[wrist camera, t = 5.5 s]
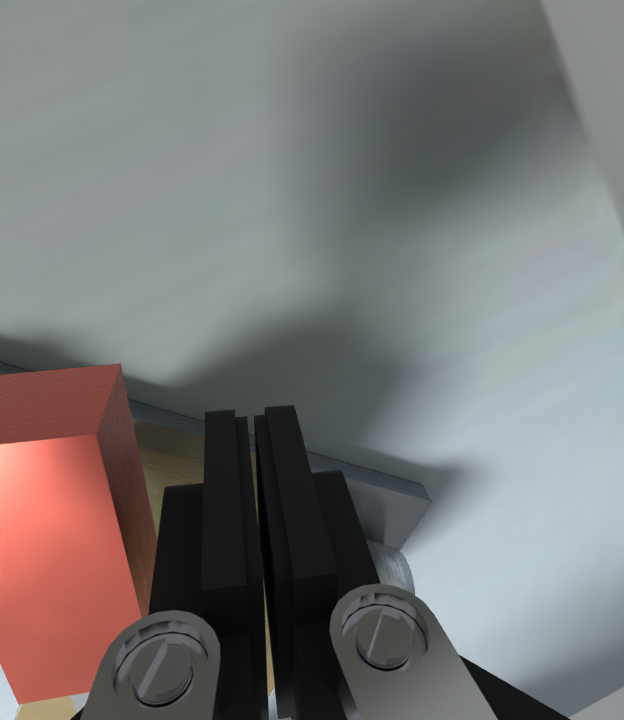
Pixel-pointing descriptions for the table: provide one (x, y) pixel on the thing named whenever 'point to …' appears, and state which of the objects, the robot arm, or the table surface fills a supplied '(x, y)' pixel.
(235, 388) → the table surface
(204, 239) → the table surface
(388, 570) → the valve
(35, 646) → the valve lever
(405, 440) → the table surface
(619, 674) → the table surface
